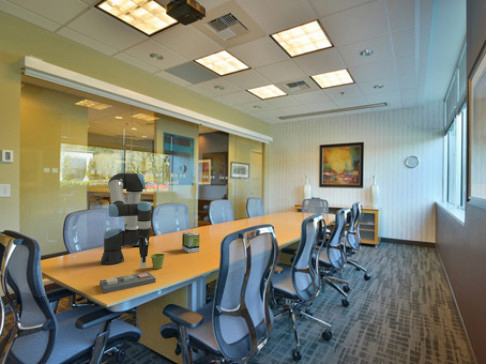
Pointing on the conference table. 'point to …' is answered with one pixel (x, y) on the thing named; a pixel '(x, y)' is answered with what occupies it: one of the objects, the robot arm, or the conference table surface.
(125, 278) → the sage button
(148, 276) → the terracotta button
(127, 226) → the robot arm
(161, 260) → the plant pot
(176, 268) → the conference table surface
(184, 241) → the tea box
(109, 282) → the cream button
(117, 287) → the button board
